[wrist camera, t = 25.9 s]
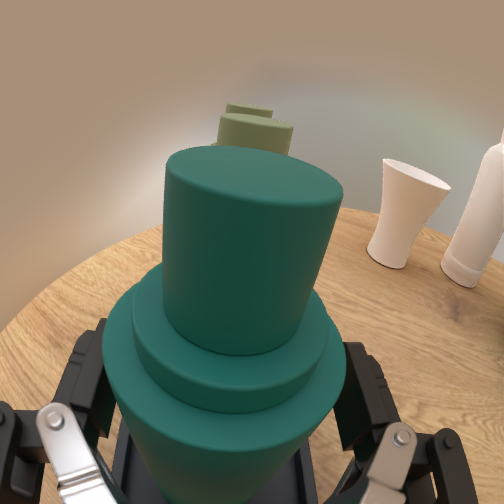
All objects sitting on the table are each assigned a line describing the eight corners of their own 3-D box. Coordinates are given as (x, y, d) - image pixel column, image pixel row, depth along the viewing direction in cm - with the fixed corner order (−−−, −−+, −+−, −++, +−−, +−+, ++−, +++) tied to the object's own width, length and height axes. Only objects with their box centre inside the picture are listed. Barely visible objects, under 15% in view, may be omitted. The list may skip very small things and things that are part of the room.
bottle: (482, 288, 39) (546, 125, 24) (458, 289, 37) (528, 105, 22) (457, 262, 46) (511, 111, 30) (431, 260, 44) (488, 92, 28)
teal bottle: (140, 498, 11) (-16, 199, 3) (171, 420, 16) (169, 123, 8) (245, 527, 11) (499, 325, 2) (262, 443, 16) (383, 168, 7)
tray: (311, 528, 11) (322, 526, 10) (113, 519, 10) (105, 515, 9) (274, 289, 31) (278, 275, 30) (164, 276, 30) (164, 262, 29)
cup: (402, 286, 36) (443, 192, 29) (341, 247, 42) (370, 157, 35) (424, 264, 42) (456, 187, 35) (372, 233, 48) (398, 159, 41)
